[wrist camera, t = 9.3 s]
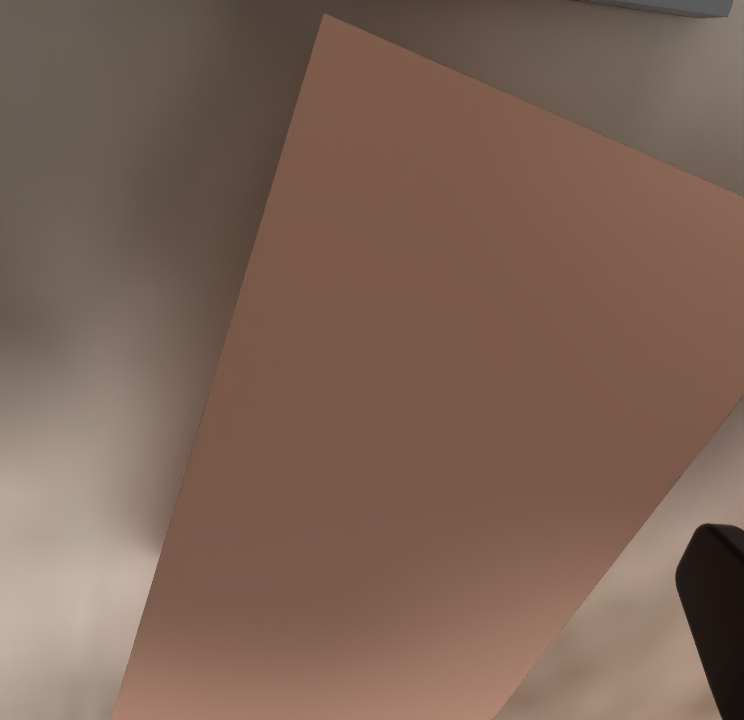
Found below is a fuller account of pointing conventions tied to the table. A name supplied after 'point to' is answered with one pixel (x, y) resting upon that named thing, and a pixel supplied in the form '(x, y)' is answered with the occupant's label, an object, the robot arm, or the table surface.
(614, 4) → the mat
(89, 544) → the table surface
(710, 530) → the robot arm
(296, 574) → the cap block
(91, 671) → the table surface
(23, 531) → the table surface
